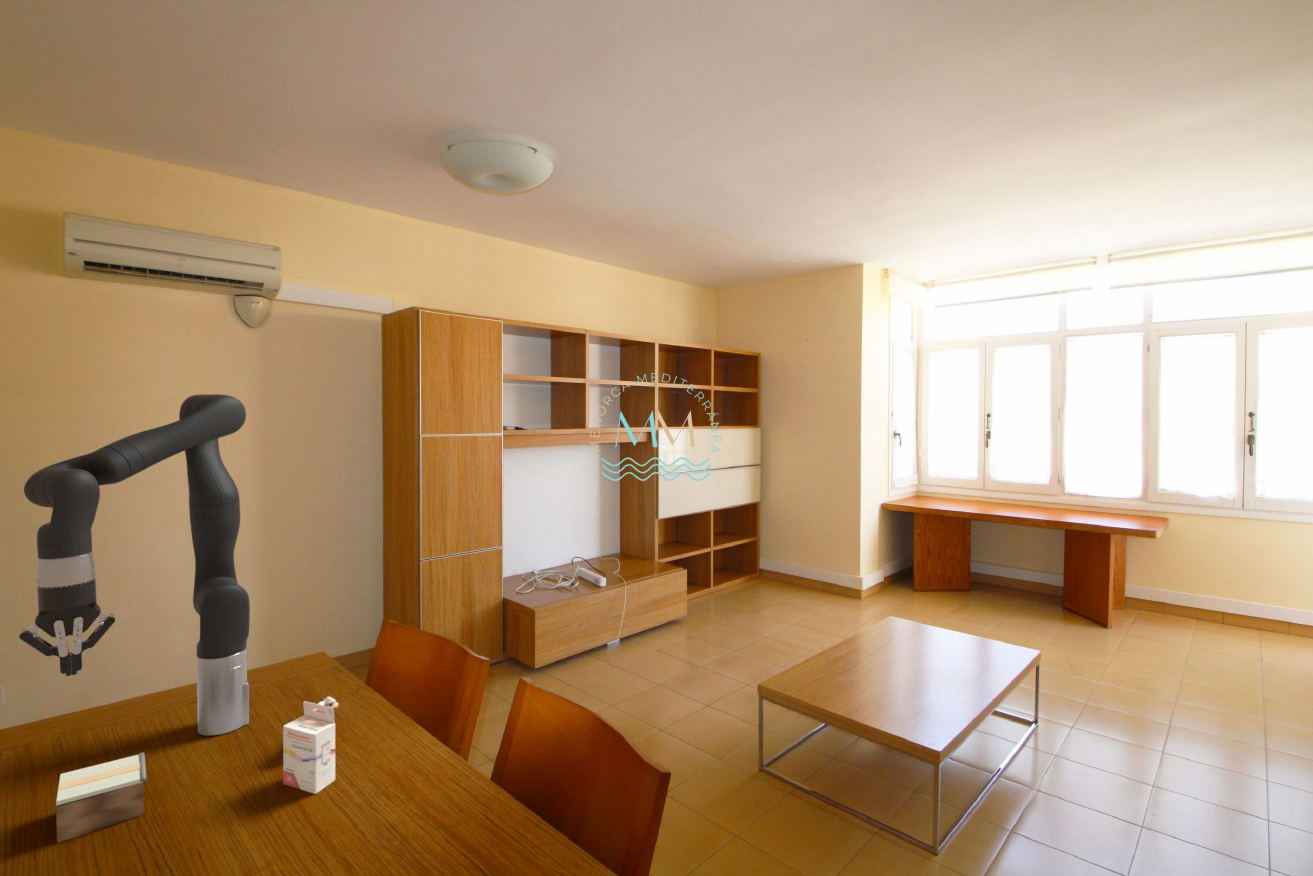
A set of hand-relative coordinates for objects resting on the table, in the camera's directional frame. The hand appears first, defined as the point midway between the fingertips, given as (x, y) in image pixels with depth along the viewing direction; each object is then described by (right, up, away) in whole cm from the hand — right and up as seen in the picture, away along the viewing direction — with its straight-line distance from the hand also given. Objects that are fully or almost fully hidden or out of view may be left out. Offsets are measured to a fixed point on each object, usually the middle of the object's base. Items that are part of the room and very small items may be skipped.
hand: (71, 674), depth 110 cm
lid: (+7, -18, -2) cm, 20 cm away
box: (+7, -24, -1) cm, 25 cm away
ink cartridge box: (+38, -25, +9) cm, 46 cm away
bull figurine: (+31, -24, +23) cm, 45 cm away
